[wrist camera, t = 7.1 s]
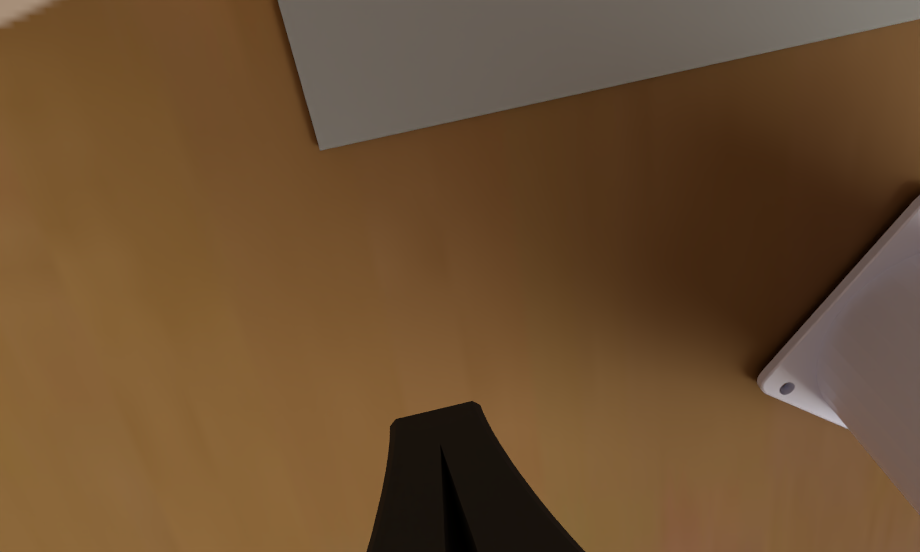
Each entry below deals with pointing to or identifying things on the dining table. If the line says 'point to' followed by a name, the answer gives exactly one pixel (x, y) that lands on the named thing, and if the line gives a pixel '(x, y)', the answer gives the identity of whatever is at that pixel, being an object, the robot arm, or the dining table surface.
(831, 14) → the mat
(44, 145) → the dining table surface
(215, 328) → the dining table surface
